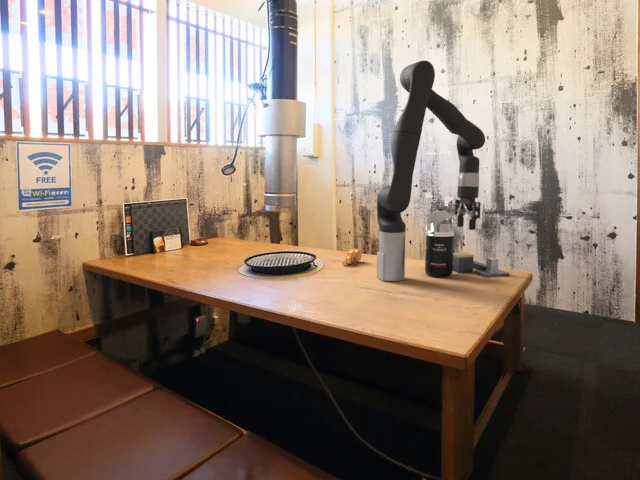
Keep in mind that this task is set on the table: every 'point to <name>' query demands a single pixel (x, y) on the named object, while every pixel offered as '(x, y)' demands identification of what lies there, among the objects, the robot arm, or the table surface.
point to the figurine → (352, 257)
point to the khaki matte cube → (463, 262)
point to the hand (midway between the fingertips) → (465, 228)
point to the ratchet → (488, 268)
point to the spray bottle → (439, 244)
